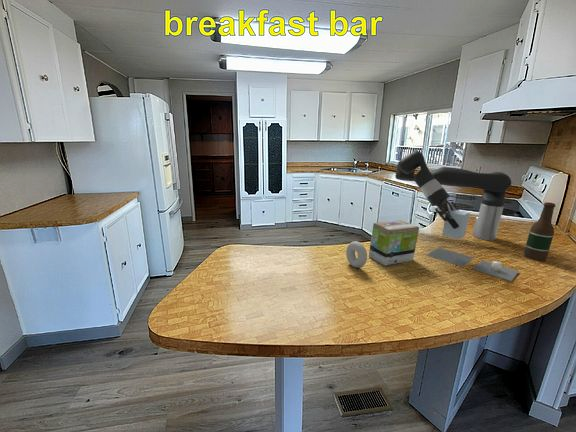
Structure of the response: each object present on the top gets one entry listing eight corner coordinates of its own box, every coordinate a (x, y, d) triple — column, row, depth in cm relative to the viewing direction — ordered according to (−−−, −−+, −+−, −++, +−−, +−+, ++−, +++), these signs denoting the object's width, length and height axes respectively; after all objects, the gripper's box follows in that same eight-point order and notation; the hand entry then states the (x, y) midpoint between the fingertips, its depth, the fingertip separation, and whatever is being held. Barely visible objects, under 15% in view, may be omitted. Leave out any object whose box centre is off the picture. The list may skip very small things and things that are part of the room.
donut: (367, 271, 104) (370, 246, 101) (360, 273, 102) (363, 247, 99) (350, 260, 112) (352, 237, 110) (343, 262, 111) (345, 238, 108)
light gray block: (442, 235, 117) (446, 211, 114) (448, 232, 121) (452, 209, 118) (459, 239, 112) (464, 215, 110) (464, 236, 116) (469, 212, 114)
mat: (425, 256, 120) (425, 255, 120) (438, 248, 129) (439, 247, 129) (462, 267, 110) (462, 266, 110) (473, 258, 119) (474, 257, 119)
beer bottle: (550, 262, 118) (568, 206, 112) (529, 260, 119) (545, 204, 113) (538, 254, 125) (554, 201, 119) (518, 253, 127) (533, 200, 120)
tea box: (385, 267, 108) (390, 230, 104) (368, 256, 117) (372, 222, 113) (414, 261, 114) (420, 226, 110) (395, 251, 123) (400, 219, 119)
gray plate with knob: (472, 270, 108) (474, 261, 107) (481, 261, 116) (483, 253, 115) (510, 282, 100) (513, 273, 99) (518, 272, 107) (520, 263, 106)
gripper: (434, 195, 127) (458, 227, 121) (419, 199, 117) (444, 234, 112) (448, 185, 121) (474, 218, 116) (434, 188, 112) (462, 224, 107)
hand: (459, 226), depth 114 cm, fingers closed on light gray block, 6 cm apart
